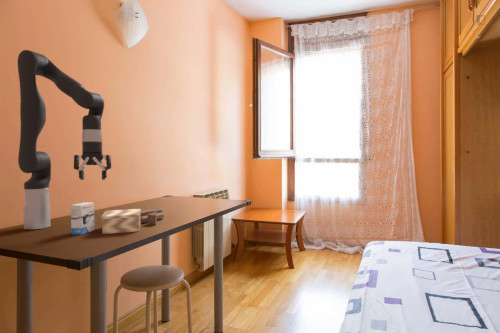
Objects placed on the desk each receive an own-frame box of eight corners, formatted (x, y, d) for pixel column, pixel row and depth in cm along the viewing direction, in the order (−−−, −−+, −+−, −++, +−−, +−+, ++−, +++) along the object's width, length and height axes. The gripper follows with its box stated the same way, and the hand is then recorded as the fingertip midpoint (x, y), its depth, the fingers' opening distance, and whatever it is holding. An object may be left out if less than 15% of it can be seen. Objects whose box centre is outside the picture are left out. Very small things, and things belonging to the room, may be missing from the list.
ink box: (81, 234, 135) (80, 205, 135) (70, 234, 136) (69, 205, 136) (95, 229, 144) (94, 202, 143) (85, 229, 145) (84, 201, 144)
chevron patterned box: (101, 234, 136) (100, 216, 136) (106, 226, 150) (105, 210, 150) (139, 231, 140) (139, 214, 139) (141, 224, 154) (140, 208, 154)
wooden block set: (129, 210, 159) (159, 205, 174) (129, 222, 159) (159, 216, 174) (153, 213, 150) (183, 207, 165) (154, 226, 150) (183, 219, 165)
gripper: (70, 140, 137) (71, 180, 138) (107, 140, 139) (108, 180, 140) (77, 141, 145) (78, 179, 146) (112, 141, 147) (113, 178, 148)
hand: (93, 179), depth 143 cm, fingers open, 8 cm apart
